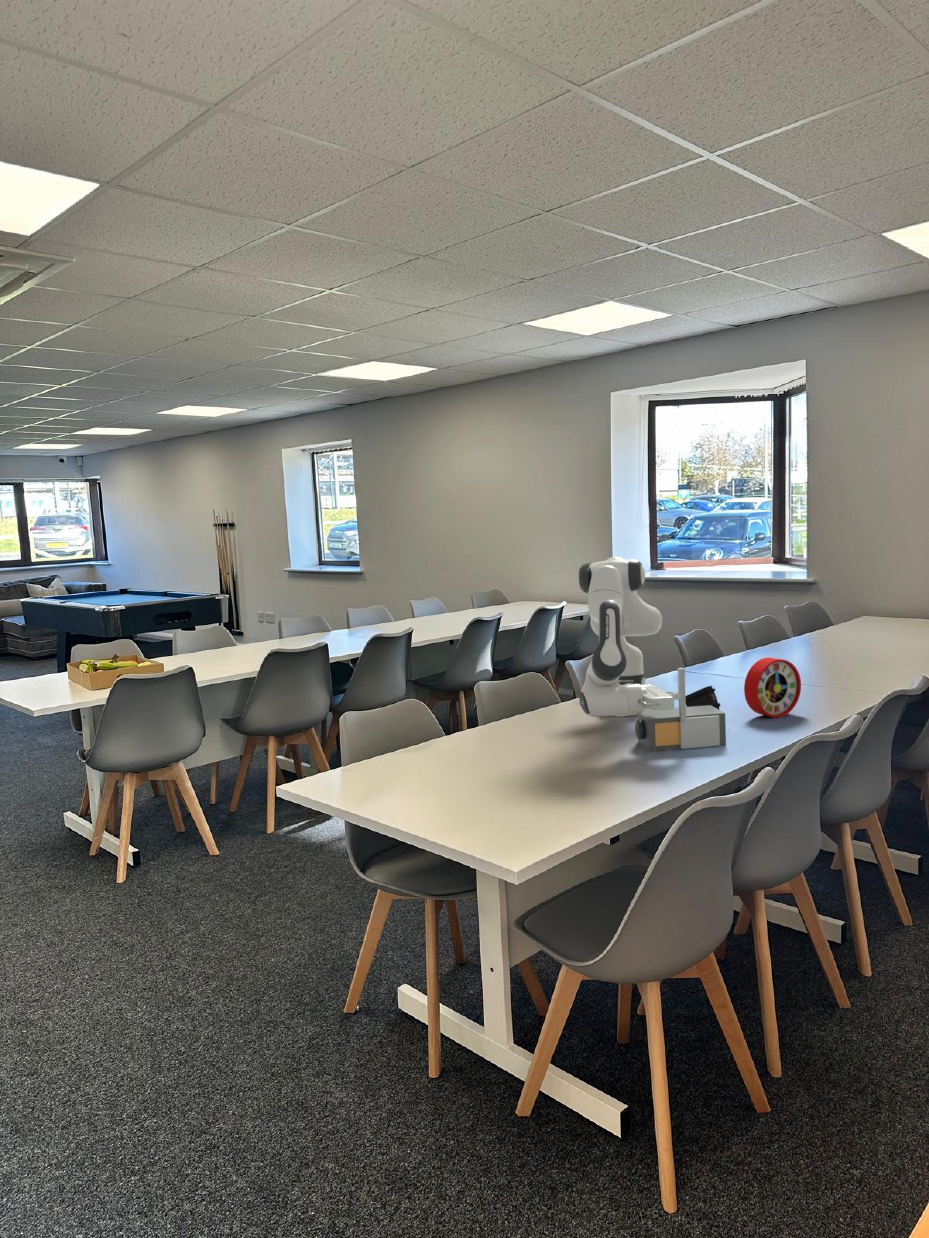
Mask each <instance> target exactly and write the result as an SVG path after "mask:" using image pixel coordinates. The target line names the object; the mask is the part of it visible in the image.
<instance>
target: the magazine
mask: <svg viewBox="0 0 929 1238" xmlns="http://www.w3.org/2000/svg"><path fill="white" fill-rule="evenodd" d="M715 691H716V687H715V688H713V686H712V685H708V686H704V687H703V688H701V689H698V690H696V691H694V692H691V693H689V694H687V695H685V697H686V707H693V706H706V705H711V706H713V707H715V708H717V709H719V710H720V711H721V709H720V707H721V706H722V705H721V703H719V702H718V699H717V698H718V697H717V695H716V693H715Z"/></svg>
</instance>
